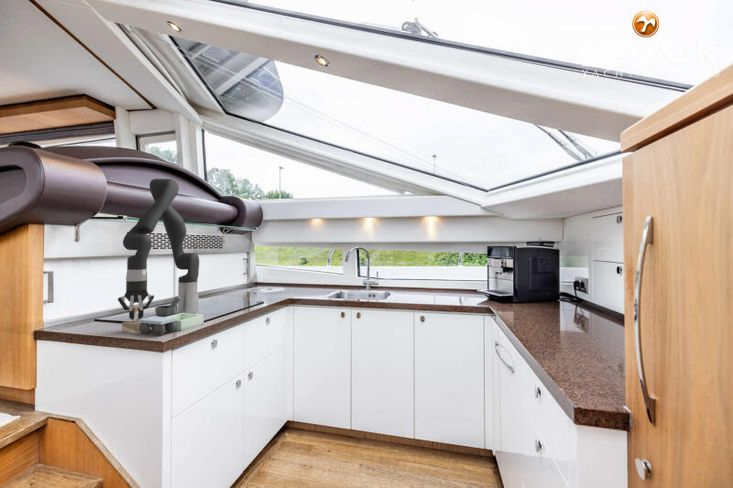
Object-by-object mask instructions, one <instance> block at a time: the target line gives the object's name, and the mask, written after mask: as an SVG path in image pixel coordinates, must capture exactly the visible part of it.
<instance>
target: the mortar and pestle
mask: <svg viewBox="0 0 733 488" xmlns="http://www.w3.org/2000/svg"><path fill="white" fill-rule="evenodd" d="M180 300H181V298H180V297H178V296H177V295H176V296H175V297H174V299H173V301H171V303H170V304H169V305H167V304H166V305H159V306H156V307H155V308H154V309H155V311H154V312H155V316H157V317H167V316H171V315H176V314H178V302H179V301H180Z"/></svg>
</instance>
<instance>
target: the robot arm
mask: <svg viewBox="0 0 733 488" xmlns="http://www.w3.org/2000/svg"><path fill="white" fill-rule="evenodd" d="M149 190H150V194H151V196H152V198H153V200H154V202H153V203H152V204H151V205H150V206H149V207H147V208H146V209H145V210H144V211H143V212H142V213H141V215H140V217H139V219H138V221H137V222H136V224H135V225H134V226H133V227H132V228H131V229H130V230H129V231H128V232H127V233H126V234H125V235H124V238H123V240H122V246H123V247H124V248H125V249H126V250H128V251H129V250H130V251H136V252H135V254H134V255H131V256H128V257H127V261H126V262H127V263H126V265H127V266H126V275H125V276H126V277H125V280H126V281H125V283H126V284H125V293H124V295H122V296H120V297H118V298H117V301H118V303H119V304H120V306H121V307H122V308H123V310H124V311H128V318H129V319H130V321H132V320H133V308H134V307H135V303H136V304H137V303H138V307H140V310H139V319H143V318H144V311H145V310H146V309H149V306H150V305H151V303H152V302H153V300H154V299H155V295H154V294H149V292H148V270H147V268H148V267H147V266H148V264H147V261H148V258H149V254H150V251H151V249H152V238H151V237H150V236H149V235H150V234H152V233H153V232H154V230H155V228H156V226H157V225H158V223H159V221H160V219H161V220H162V222H163V227H164V229H165V233H166V235H167V237H168V240H169V244H170V247H171V251H172V256H173V261H174V265H175V266H176V268H177V269H179V270H183V271H185V270H187V273H186V274H184V275H181V276H179V277H178V281H177V282H178V285H177V289H178V290H177V293H178V294H177V295H178V297H180V298H181V300H180V301H179V302H178V304H177V306H178V311H177V314H180V313H187V314H198V313H199V294H198V279H199V272H200V271H199V270H200V257H199V255H198V253H194V252H184V249H183V244H184V243H183V242H184V240H185V238H186V235H187V228H186V224H185V220H184V219H183V217H182V216H181V215H180V214H179V213H178V211H177V210H176V209H175V208H174V207H173V206H172V205H171V204H172V203H173V201H174V199H176V196H177V195H178V194H179V190H180V187H179V184H178V182H177V181H176V180H174V179H172V178H153V179H151V180H150V183H149ZM146 298H147V299H148V301H147V302H146V304H145V305H144V301H145V299H146ZM126 299H127V301H128V302H129V306H128V304H127V303H126V302H125V301H126Z"/></svg>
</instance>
